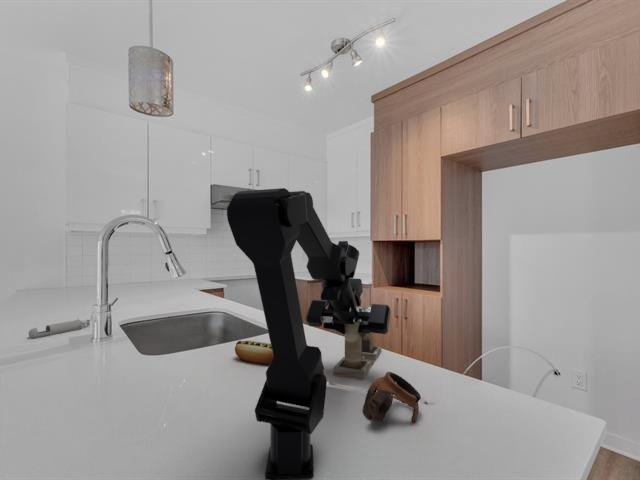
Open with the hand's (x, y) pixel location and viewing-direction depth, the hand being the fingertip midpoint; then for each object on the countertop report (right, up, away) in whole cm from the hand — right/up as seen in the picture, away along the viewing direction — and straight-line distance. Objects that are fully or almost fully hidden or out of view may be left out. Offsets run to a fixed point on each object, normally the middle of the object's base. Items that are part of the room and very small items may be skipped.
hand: (354, 334), depth 77 cm
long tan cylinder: (+4, -8, +10) cm, 13 cm away
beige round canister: (-1, -7, -1) cm, 7 cm away
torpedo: (-100, -10, +35) cm, 107 cm away
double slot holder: (+2, -9, +4) cm, 10 cm away
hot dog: (-25, -10, +8) cm, 28 cm away
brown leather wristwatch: (+4, -9, -19) cm, 22 cm away
